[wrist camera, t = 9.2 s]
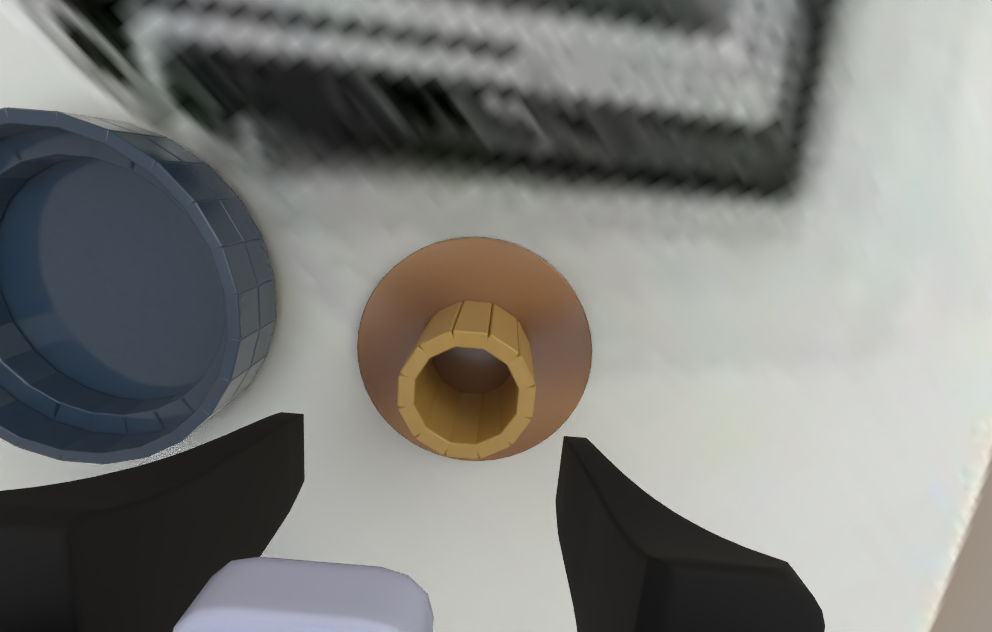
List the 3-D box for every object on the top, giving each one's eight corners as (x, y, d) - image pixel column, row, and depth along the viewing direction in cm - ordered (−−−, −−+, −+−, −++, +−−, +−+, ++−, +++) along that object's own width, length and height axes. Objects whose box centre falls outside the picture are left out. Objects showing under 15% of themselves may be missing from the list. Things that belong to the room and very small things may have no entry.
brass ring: (547, 379, 22) (556, 428, 18) (449, 421, 22) (436, 478, 18) (500, 282, 21) (498, 308, 16) (399, 329, 21) (372, 365, 17)
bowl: (336, 353, 22) (306, 384, 19) (98, 464, 24) (31, 510, 21) (167, 60, 19) (94, 34, 16) (-91, 209, 21) (-206, 214, 18)
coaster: (625, 404, 23) (627, 409, 22) (425, 486, 24) (424, 493, 23) (531, 195, 20) (532, 195, 20) (317, 298, 22) (313, 301, 21)
